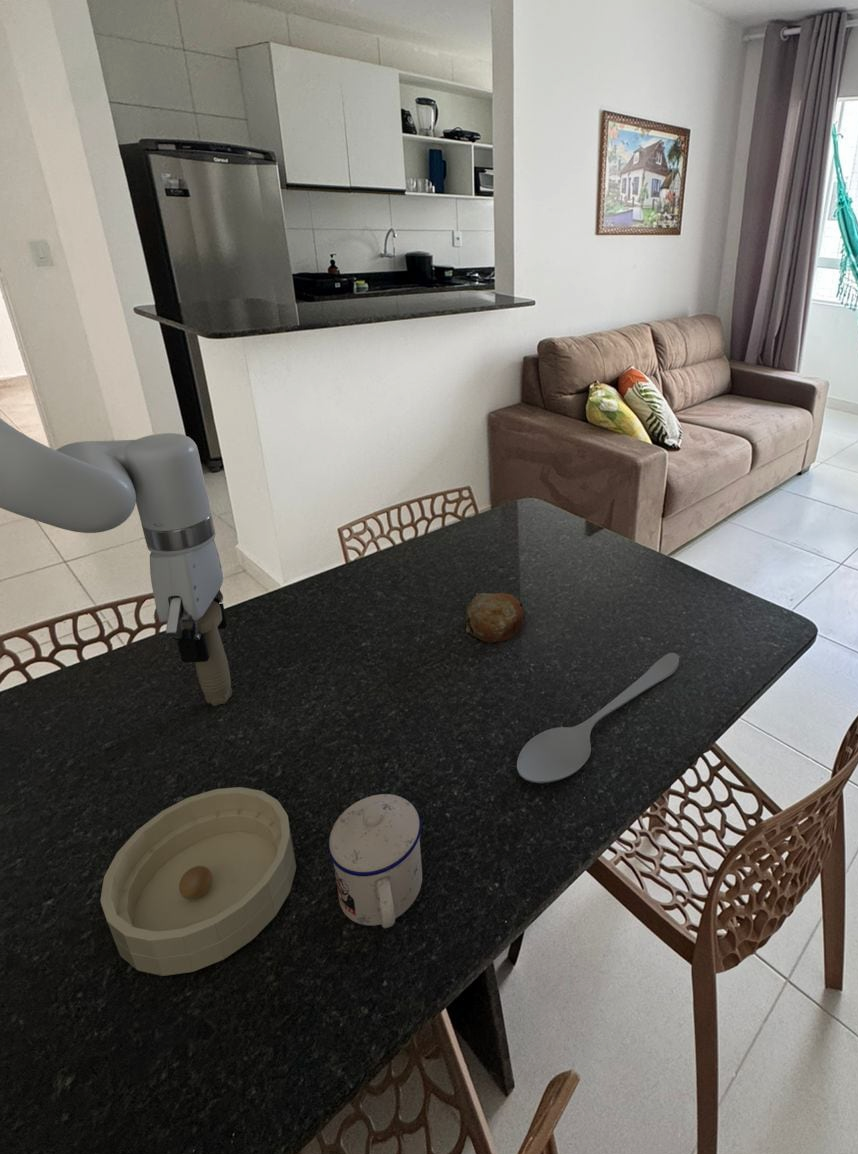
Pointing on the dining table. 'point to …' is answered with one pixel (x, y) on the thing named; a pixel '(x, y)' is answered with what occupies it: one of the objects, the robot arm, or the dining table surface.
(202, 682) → the handle
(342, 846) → the teacup with lid
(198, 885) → the egg
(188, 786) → the dining table surface
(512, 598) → the bread roll
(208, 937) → the bowl
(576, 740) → the spoon
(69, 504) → the robot arm
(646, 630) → the dining table surface
